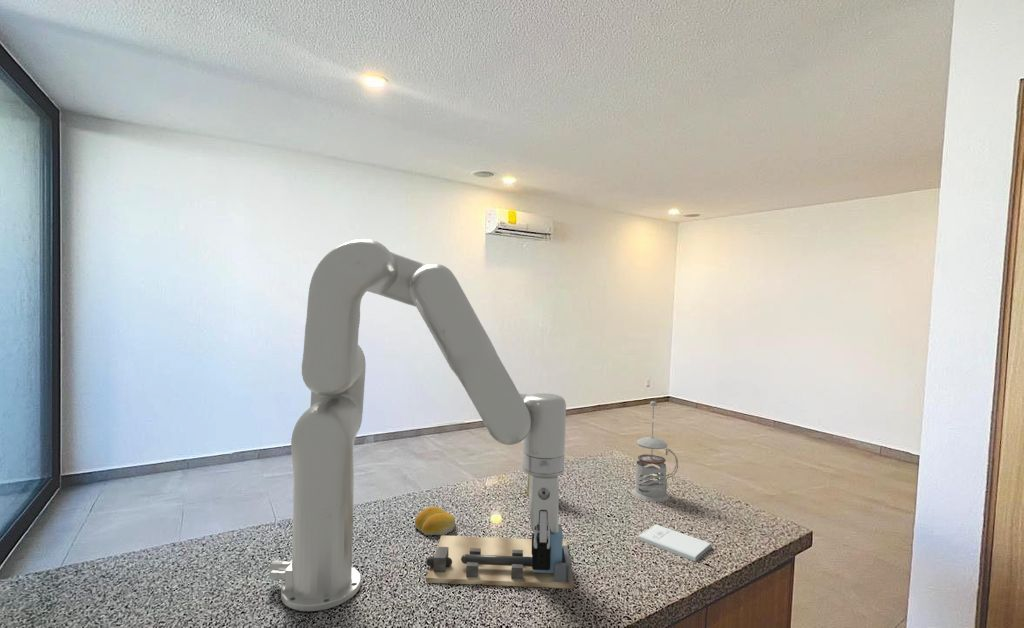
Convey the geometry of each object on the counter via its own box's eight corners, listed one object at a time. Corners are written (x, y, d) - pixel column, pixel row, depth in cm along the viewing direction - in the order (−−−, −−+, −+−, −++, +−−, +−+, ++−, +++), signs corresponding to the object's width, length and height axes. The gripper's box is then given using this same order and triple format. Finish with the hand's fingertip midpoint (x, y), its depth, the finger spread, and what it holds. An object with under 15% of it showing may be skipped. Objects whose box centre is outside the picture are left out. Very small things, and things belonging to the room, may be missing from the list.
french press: (629, 486, 135) (632, 396, 135) (672, 489, 134) (675, 399, 133) (633, 500, 126) (636, 403, 125) (680, 503, 124) (683, 406, 124)
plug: (459, 569, 87) (460, 530, 87) (462, 557, 91) (463, 520, 91) (561, 573, 87) (562, 534, 87) (559, 561, 91) (561, 524, 91)
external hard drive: (695, 564, 95) (637, 542, 104) (711, 550, 101) (656, 530, 110) (695, 556, 95) (638, 534, 104) (711, 542, 101) (656, 523, 110)
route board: (421, 582, 85) (421, 563, 85) (437, 539, 101) (437, 522, 101) (573, 588, 85) (574, 569, 85) (565, 544, 101) (566, 527, 101)
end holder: (554, 581, 85) (554, 564, 85) (552, 560, 92) (552, 545, 92) (570, 582, 85) (570, 565, 85) (566, 561, 92) (567, 545, 92)
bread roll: (430, 541, 101) (431, 522, 101) (409, 526, 108) (409, 508, 108) (463, 530, 106) (463, 512, 106) (441, 516, 113) (441, 499, 113)
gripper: (568, 479, 80) (564, 589, 80) (560, 449, 97) (557, 540, 97) (522, 477, 80) (519, 587, 81) (523, 448, 97) (520, 539, 97)
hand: (540, 560), depth 89 cm, fingers open, 4 cm apart
